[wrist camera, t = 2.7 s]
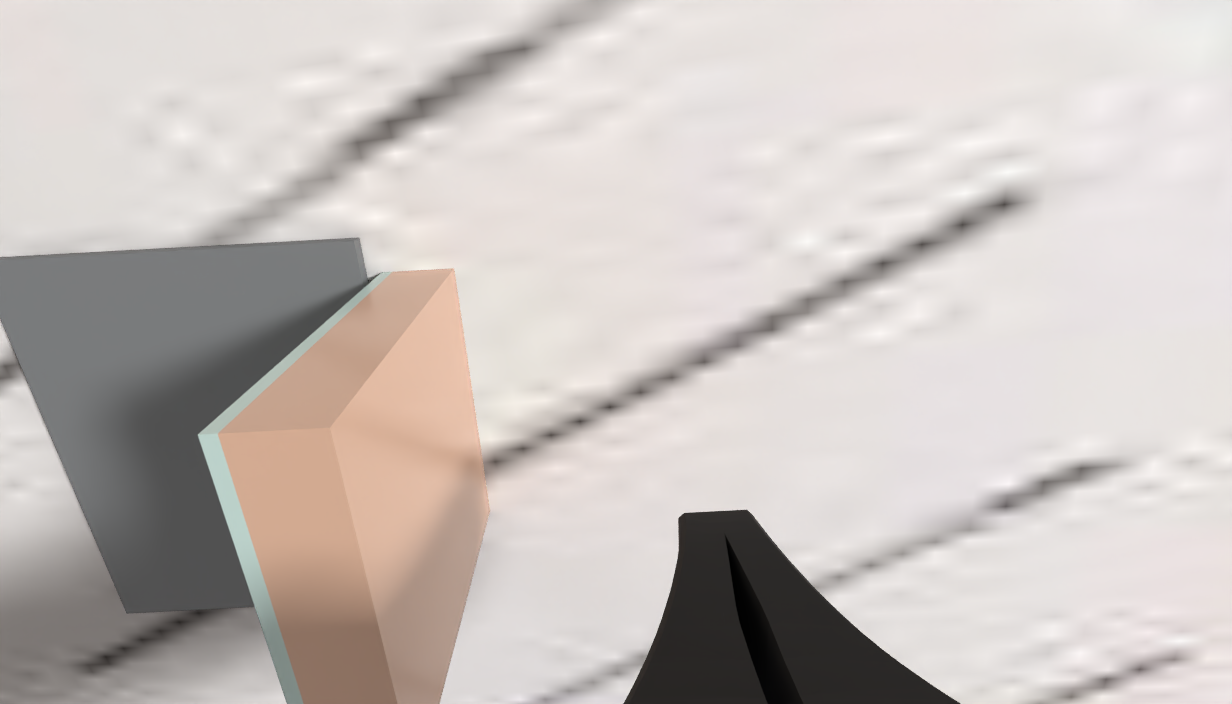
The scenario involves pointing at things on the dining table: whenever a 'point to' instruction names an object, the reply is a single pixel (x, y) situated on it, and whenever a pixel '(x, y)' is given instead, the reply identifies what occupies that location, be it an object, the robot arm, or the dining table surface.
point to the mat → (163, 388)
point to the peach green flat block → (360, 495)
